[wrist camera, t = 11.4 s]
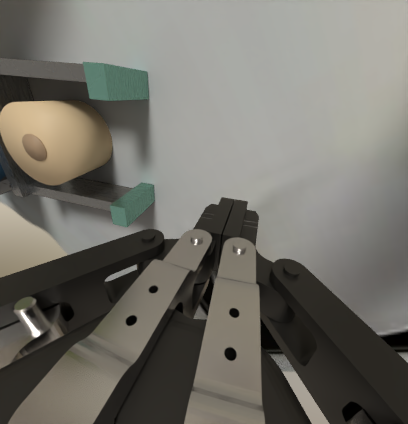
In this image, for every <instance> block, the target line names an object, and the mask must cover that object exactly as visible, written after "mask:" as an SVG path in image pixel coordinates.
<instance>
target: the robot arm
mask: <svg viewBox="0 0 408 424" xmlns="http://www.w3.org/2000/svg"><path fill="white" fill-rule="evenodd" d="M247 204H248V201H242V200H236V199H235V202H234V199H229V198H223V197H222V198H221V200H220V202H219V204H218V205H216V204H211V205H209V206H208V207H206V208H205V210H204V212H203V213H202V215H201V217H200V219H199V220H198V222H197V224H196V225H195V227H194V229H193V230H189V231H187V232H185V233H184V234H183V235H182V236H181V238H180V239H164V235H163V233H162V232H160V231H158V230H154V229H147V230H143V231H140V232H137V233H134V234H131V235H128V236H125V237H122V238H119V239H116V240H113V241H110V242H107V243H104V244H101V245H98V246H95V247H92V248H89V249H86V250H83V251H80V252H77V253H74V254H71V255H68V256H65V257H62V258H59V259H56V260H53V261H50V262H47V263H44V264H41V265H38V266H35V267H32V268H29V269H26V270H23V271H20V272H17V273H14V274H11V275H8V276H5V277H2V278H0V424H312V423H311V422H310V420H309V418H308V416H307V415H306V413H305V411H304V409H303V408H302V406H301V404H300V402H299V401H298V399H297V397H296V395H295V393H294V392H293V390H292V388H291V387H290V385H289V383H288V381H287V380H286V378H285V376H284V374H283V373H282V371H281V369H280V368H279V366H278V365H277V364H276V362H275V361H274V360H273V359H272V357H271V356H270V355H269V354H268V353H267V352H266V351H265V350H264V349H263V348H262V347H261V342H260V317H261V319H262V321H263V322H264V324H265V325H266V327H267V328H268V330H269V331H270V333H271V334H272V336H273V337H274V339H275V341H276V342H277V344H278V345H279V347H280V348H281V350H282V351H283V353H284V354H285V356H286V357H287V359H288V360H289V362H290V364H291V365H292V367H293V368H294V370H295V371H296V373H297V374H298V376H299V377H300V379H301V380H302V382H303V383H304V385H305V387H306V388H307V390H308V391H309V393H310V394H311V396H312V397H313V399H314V400H315V402H316V403H317V405H318V406H319V408H320V410H321V411H322V413H323V414H324V416H325V417H326V419H327V420H328V422H329V423H330V424H408V363H407V362H406V361H405V360H404V359H403V358H402V357H401V356H400V355H399V354H398V353H397V352H395V351H394V350H393V349H392V348H391V347H390V346H389V345H388V344H387V343H386V342H385V341H384V340H383V339H382V338H380V337H379V336H378V335H377V334H376V333H375V332H374V331H373V330H372V329H371V328H370V327H369V326H368V325H367V324H365V323H364V322H363V321H362V320H361V319H360V318H359V317H358V316H357V315H356V314H355V313H354V312H353V311H351V310H350V309H349V308H348V307H347V306H346V305H345V304H344V303H343V302H342V301H341V300H340V299H339V298H338V297H336V296H335V295H334V294H333V293H332V292H331V291H330V290H329V289H328V288H327V287H326V286H325V285H324V284H323V283H321V282H320V281H319V280H318V279H317V278H316V277H315V276H314V275H313V274H312V273H311V272H310V271H309V270H308V269H306V268H305V267H304V266H303V265H302V264H300V263H298V262H296V261H294V260H290V259H279V260H277V261H275V262H274V263H273V262H271V261H269V260H267V259H265V258H264V257H262V256H261V255H260V254H259V253H258V252H257V250H256V247H255V245H256V236H257V228H258V220H259V216H258V215H257V213H256V211H250V210H247ZM136 264H137V270H135V271H132V272H130V273H128V274H125V275H123V276H121V277H118V278H116V279H114V280H111V281H108V282H105V279H106V278H107V277H108V276H110V275H112V274H114V273H116V272H119V271H121V270H124V269H126V268H128V267H131V266H133V265H136ZM218 268H219V270H218ZM212 270H213V271H218V275H217V276H216V279H215V284H214V289H213V293H212V298H211V303H210V308H209V313H208V317H207V320H200V319H193V318H194V315H195V313H196V310H197V308H198V306H199V304H200V301H201V299H202V297H203V295H204V292H205V290H206V288H207V286H208V283H209V278H210V276H211V273H212Z"/></svg>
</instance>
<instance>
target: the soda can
mask: <svg viewBox="0 0 408 424" xmlns="http://www.w3.org/2000/svg"><path fill="white" fill-rule="evenodd" d="M11 190H12V188H11V186H10V183H9V181H8V179H7V177H6V175H5V172H4V170H3V168H2V166H1V163H0V194H3V193H6V192H8V191H11Z"/></svg>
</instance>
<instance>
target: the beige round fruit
mask: <svg viewBox="0 0 408 424" xmlns="http://www.w3.org/2000/svg"><path fill="white" fill-rule="evenodd" d="M0 133H1V136H2V139H3V142H4V144H5V146H6V148H7V150H8V152H9V154H10V155H11V157H12V158H13V159H14V161H15V162H16V163H17V164H18V166H19V167H20V168H21V169H22V170H23V171H24V172H25V173H27V174H28V175H29V176H30V177H32V178H33V179H35V180H37V181H39V182H41V183H43V184H47V185H60V184H62V183H64V182H67V181H69V180H71V179H74V178H76V177H78V176H80V175H83V174H85V173H87V172H90V171H92V170H94V169H96V168H99V167H101V166H103V165H105V164H106V163H107V162H108V161H109V159H110V157H111V154H112V138H111V134H110V131H109V129H108V127H107V125H106V123H105V121H104V120H103V118H102V117H101V115H100V114H99V113H98V112H97V111H96V110H95V109H94V108H92V107H91V106H90V105H88V104H86V103H84V102H82V101H78V100H60V101H27V102H12V103H9V104H7V105H6V106H5V107H4V108H3V109H2V111H1V113H0Z"/></svg>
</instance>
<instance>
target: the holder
mask: <svg viewBox="0 0 408 424" xmlns="http://www.w3.org/2000/svg"><path fill="white" fill-rule="evenodd" d="M27 77H34V78H45V79H56V80H67V81H78V82H87V87H88V93H89V98H90V99H96V100H106V101H117V100H141V99H149V94H148V76H147V72H146V71H141V70H136V69H130V68H125V67H120V66H114V65H109V64H104V63H90V62H83V64H76V63H62V62H48V61H34V60H20V59H7V58H0V113H1V111H2V109H3V108H4V107H5V106H6V105H7V104H9V103H12V102H27V101H34V100H33V97H32V93H31V90H30V87H29V84H28V81H27ZM0 163H1V166H2V168H3V170H4V172H5V175H6V177H7V179H8V181H9V183H10V186H11V188H12V190H13V192H14V195H15V196H19V197H25V196H27V195H30V194H34V195H39V196H43V197H48V198H52V199H57V200H62V201H66V202H71V203H75V204H80V205H84V206H89V207H93V208H98V209H103V210H107V211H111V215H112V220H113V224H115V225H120V226H124V227H128V226H129V225H130V224H131V223H132V222H133V221H134V220H135V219H136V218H137V217H139V216H140V215H141V214H142V213H143V212H144V211H145V210H146V209H147V208H148V207H149V206H150V205H151V204H152V203H153V202H154V201H155V199H154V185H152V184H146V183H140V184H139V185H137V186H136V187H135V188H128V187H123V186H118V185H113V184H108V183H102V182H97V181H92V180H87V179H82V178H74V179H71V180H69V181H67V182H64V183H62V184H60V185H47V184H43V183H41V182H39V181H37V180H35V179H33V178H32V177H30V176H29V175H28V174H27V173H25V172H24V171H23V170H22V169H21V168H20V167H19V166H18V164H17V163H16V162H15V161H14V159H13V158H12V157H11V155H10V154H9V152H8V150H7V148H6V146H5V144H4V142H3V139H2V136H1V133H0Z"/></svg>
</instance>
